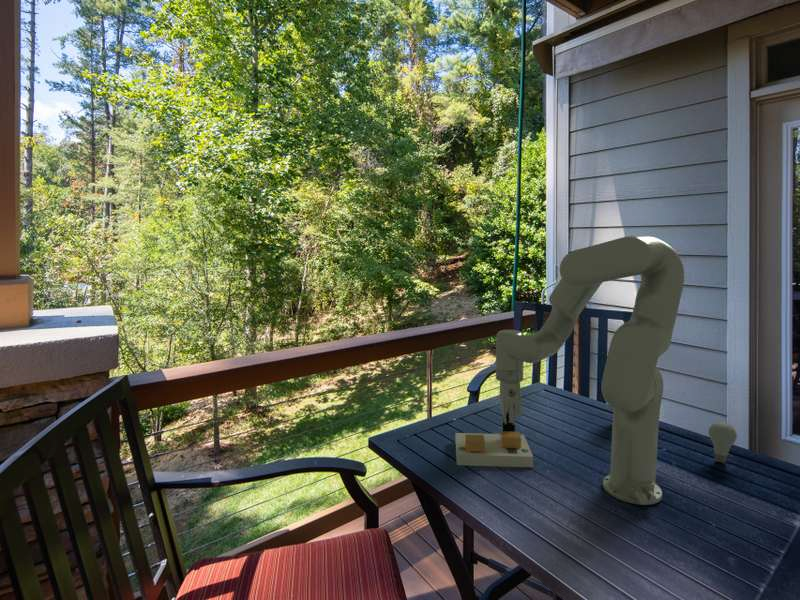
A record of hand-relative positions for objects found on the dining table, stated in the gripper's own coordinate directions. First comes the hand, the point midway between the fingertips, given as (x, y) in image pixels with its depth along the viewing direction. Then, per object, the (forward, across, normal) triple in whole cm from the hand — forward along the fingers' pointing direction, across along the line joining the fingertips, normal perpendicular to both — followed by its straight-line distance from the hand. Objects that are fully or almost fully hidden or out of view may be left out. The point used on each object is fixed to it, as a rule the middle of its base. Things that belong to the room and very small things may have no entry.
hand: (508, 436), depth 130 cm
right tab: (+1, -4, 0) cm, 4 cm away
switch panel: (+4, -3, +5) cm, 7 cm away
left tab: (+1, -7, +10) cm, 12 cm away
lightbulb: (+4, -4, -55) cm, 55 cm away
